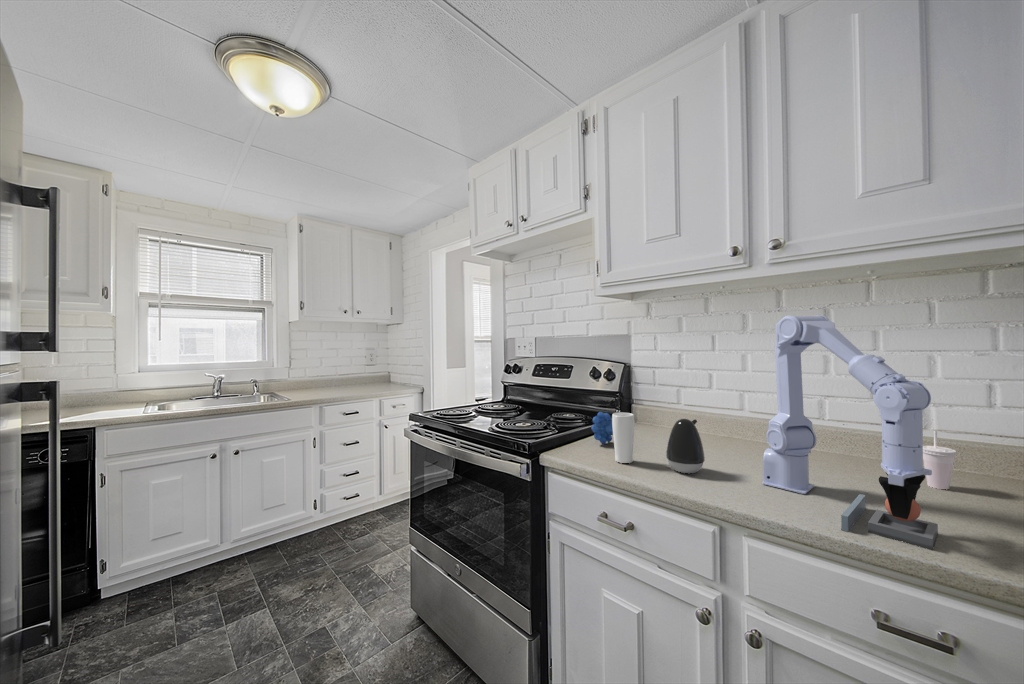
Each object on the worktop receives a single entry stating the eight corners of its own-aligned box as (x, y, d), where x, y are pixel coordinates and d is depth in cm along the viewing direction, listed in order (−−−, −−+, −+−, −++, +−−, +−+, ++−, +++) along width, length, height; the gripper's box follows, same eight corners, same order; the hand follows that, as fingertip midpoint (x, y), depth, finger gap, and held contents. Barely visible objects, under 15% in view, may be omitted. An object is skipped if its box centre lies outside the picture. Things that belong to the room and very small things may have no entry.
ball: (882, 519, 79) (882, 494, 78) (887, 512, 82) (887, 487, 82) (918, 528, 75) (918, 502, 75) (922, 520, 78) (922, 494, 78)
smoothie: (936, 482, 104) (936, 428, 104) (965, 491, 97) (964, 434, 97) (912, 482, 104) (912, 429, 103) (940, 492, 97) (939, 435, 97)
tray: (868, 532, 79) (867, 522, 79) (877, 518, 84) (877, 509, 84) (932, 550, 72) (932, 539, 72) (937, 534, 78) (937, 524, 78)
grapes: (601, 449, 140) (601, 415, 140) (587, 445, 146) (586, 412, 146) (623, 443, 147) (622, 411, 147) (609, 439, 153) (608, 408, 152)
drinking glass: (627, 466, 121) (626, 417, 121) (608, 461, 126) (607, 414, 126) (639, 461, 126) (638, 414, 125) (620, 457, 131) (619, 411, 130)
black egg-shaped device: (712, 472, 115) (712, 419, 115) (689, 479, 109) (689, 424, 109) (681, 463, 124) (681, 413, 123) (659, 469, 118) (658, 418, 118)
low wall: (841, 529, 80) (841, 515, 80) (859, 507, 90) (859, 493, 90) (847, 531, 79) (847, 516, 79) (865, 508, 89) (865, 495, 89)
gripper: (926, 455, 70) (927, 532, 70) (935, 440, 79) (936, 508, 80) (873, 447, 76) (873, 518, 76) (887, 434, 85) (888, 498, 85)
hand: (902, 512), depth 78 cm, fingers closed on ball, 5 cm apart
